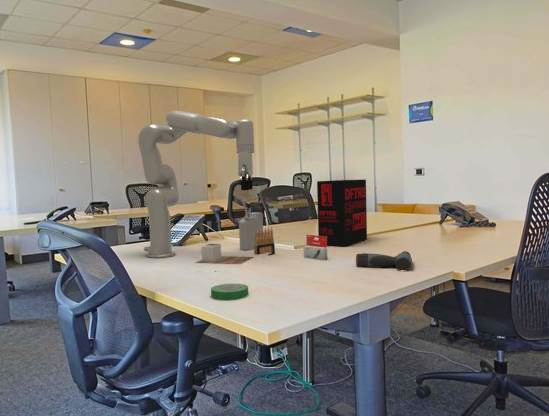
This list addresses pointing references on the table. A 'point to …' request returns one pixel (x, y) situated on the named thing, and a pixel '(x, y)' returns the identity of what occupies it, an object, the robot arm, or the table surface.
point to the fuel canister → (249, 228)
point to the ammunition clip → (264, 242)
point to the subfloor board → (228, 260)
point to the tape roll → (229, 291)
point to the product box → (342, 211)
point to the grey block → (211, 252)
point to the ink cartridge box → (316, 248)
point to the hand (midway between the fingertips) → (247, 189)
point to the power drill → (384, 260)
